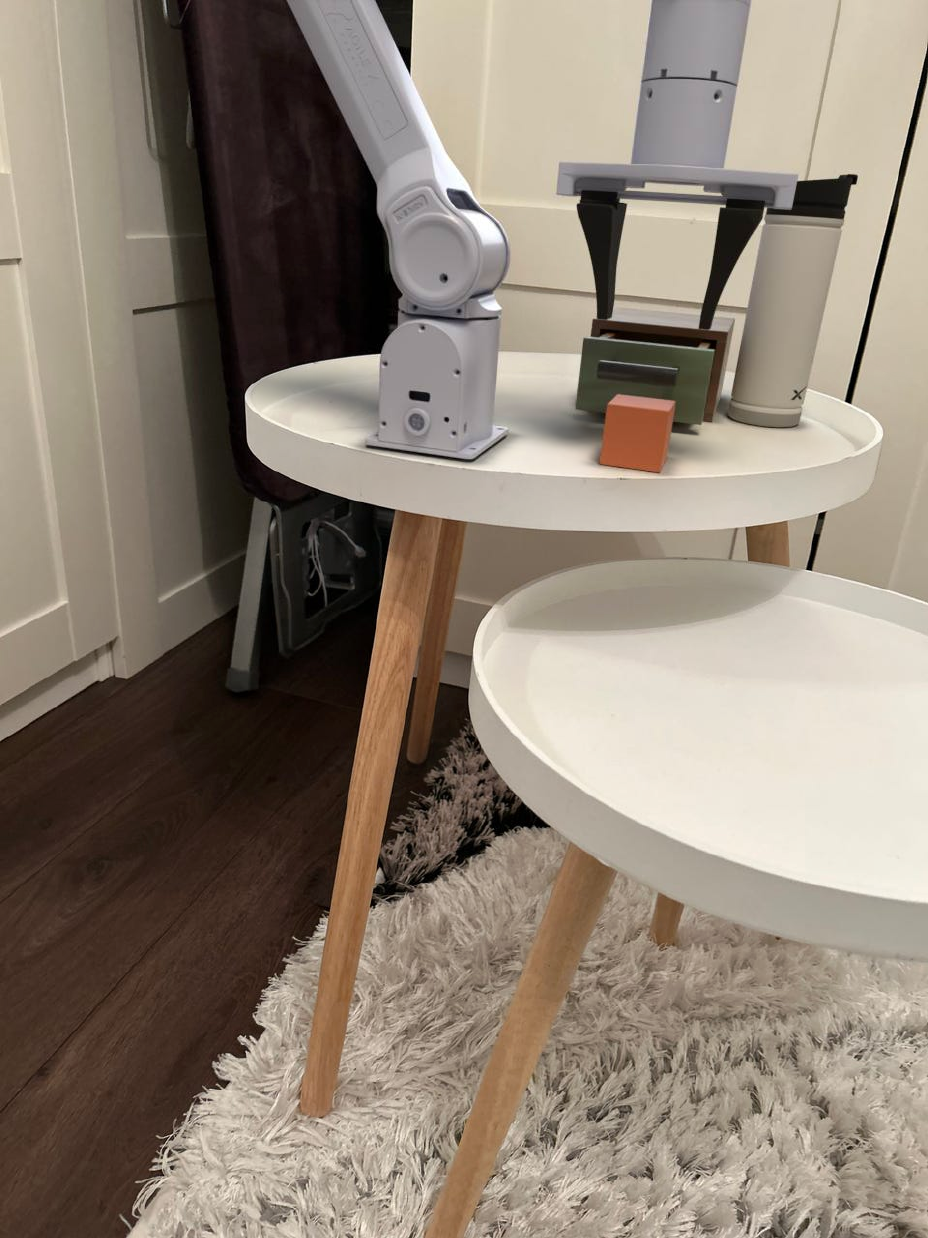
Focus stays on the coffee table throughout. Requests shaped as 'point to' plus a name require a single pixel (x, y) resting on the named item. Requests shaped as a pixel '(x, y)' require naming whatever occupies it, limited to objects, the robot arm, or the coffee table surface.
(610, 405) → the block
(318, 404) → the coffee table surface
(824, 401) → the coffee table surface
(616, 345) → the drawer
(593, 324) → the cabinet
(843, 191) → the travel mug
